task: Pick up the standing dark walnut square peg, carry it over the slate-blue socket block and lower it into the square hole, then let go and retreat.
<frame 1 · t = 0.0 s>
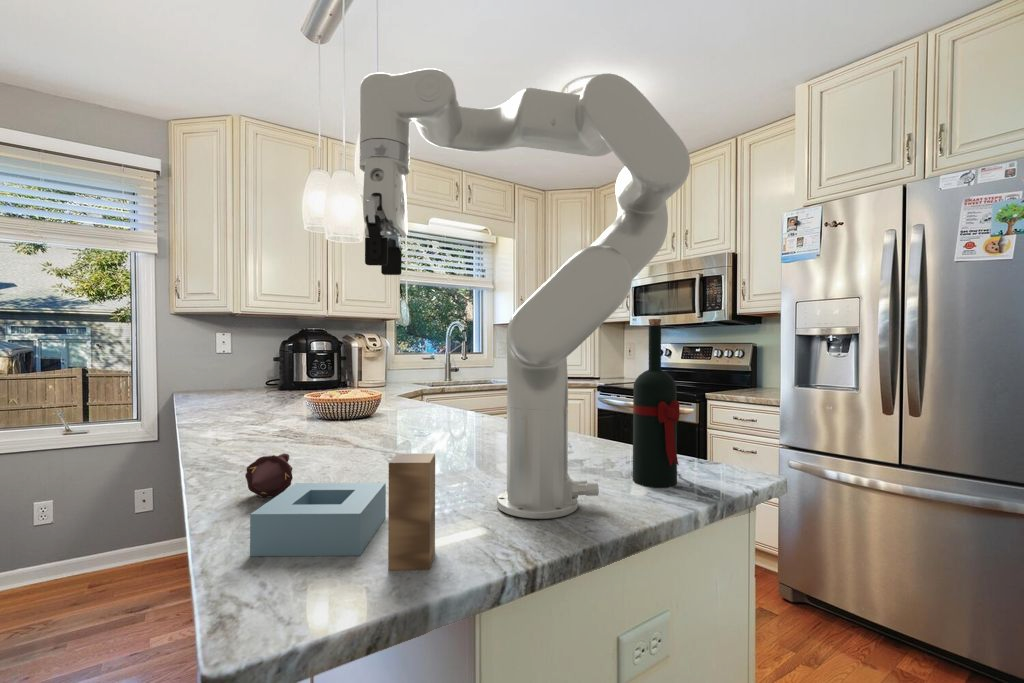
hand: (384, 270, 76), 37 cm above the counter, tool pointing down, fingers open, 9 cm apart
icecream: (270, 496, 81), on the counter
wine bottle: (658, 484, 89), on the counter
walnut peg: (412, 560, 57), on the counter
socket block: (324, 534, 65), on the counter
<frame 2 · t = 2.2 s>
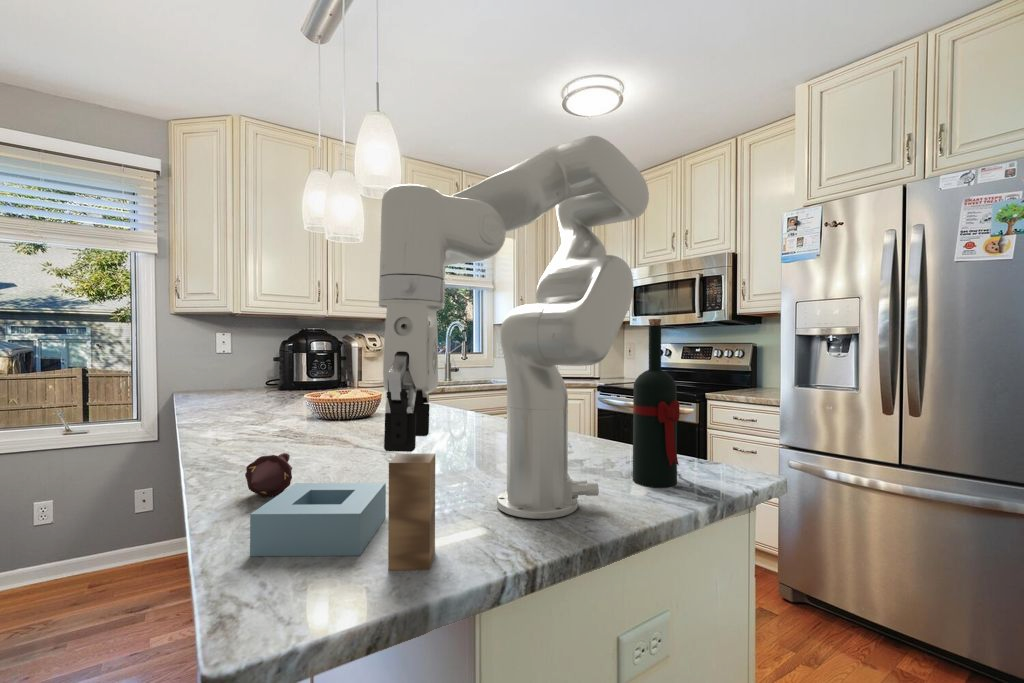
hand: (408, 442, 57), 14 cm above the counter, tool pointing down, fingers open, 9 cm apart
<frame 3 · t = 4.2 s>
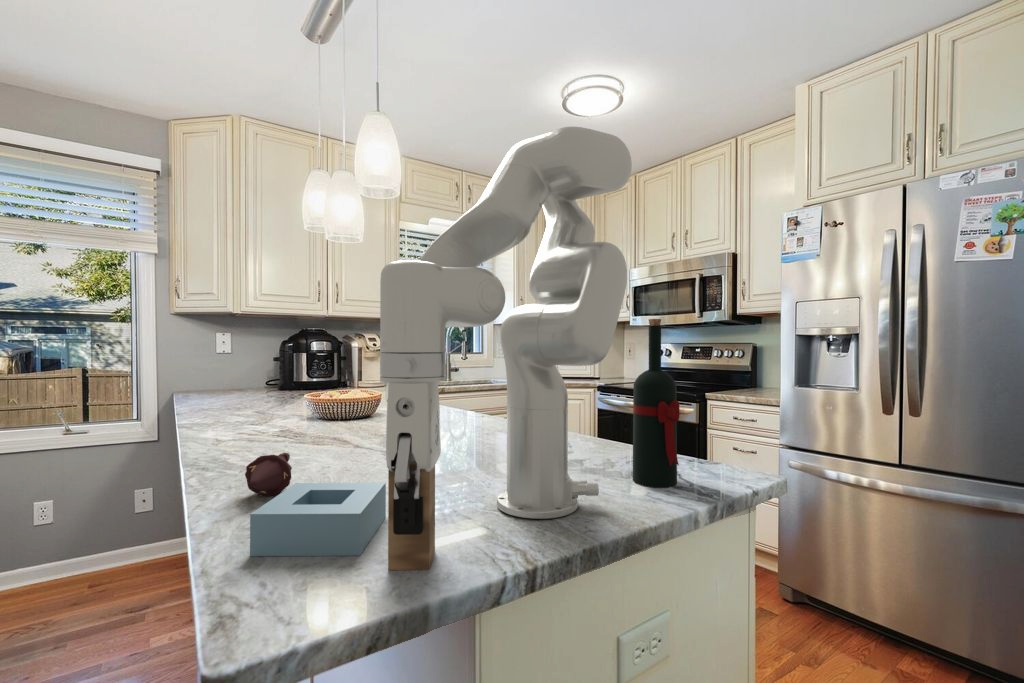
hand: (412, 523, 57), 4 cm above the counter, tool pointing down, fingers closed on walnut peg, 4 cm apart
walnut peg: (412, 560, 57), on the counter, touching gripper
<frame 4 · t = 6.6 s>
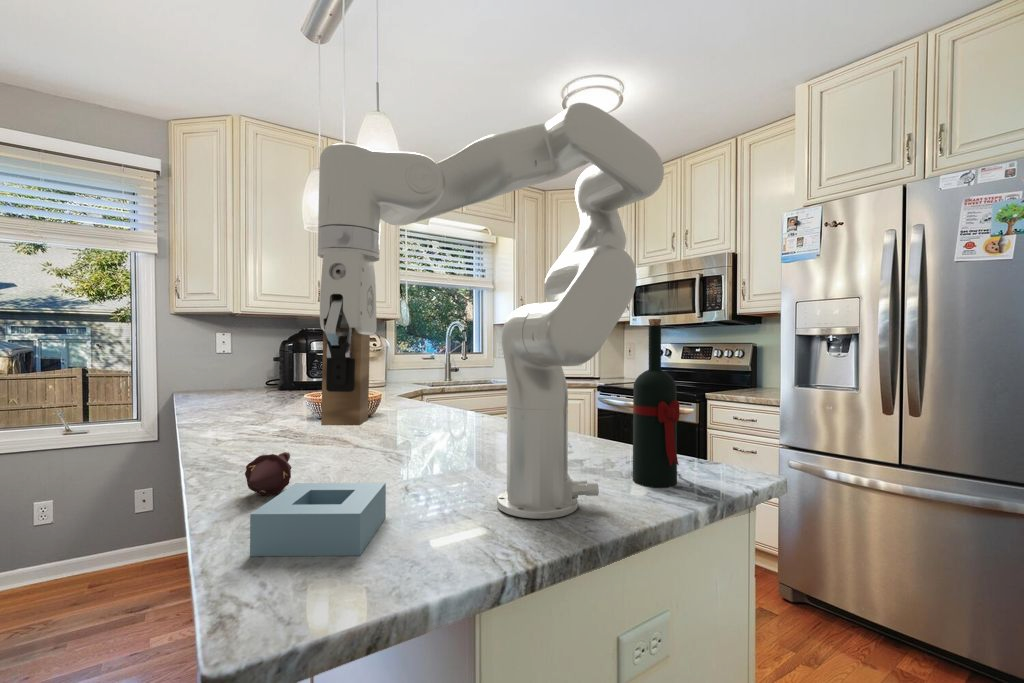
hand: (346, 387, 62), 20 cm above the counter, tool pointing down, fingers closed on walnut peg, 4 cm apart
walnut peg: (345, 422, 62), point 15 cm above the counter, touching gripper
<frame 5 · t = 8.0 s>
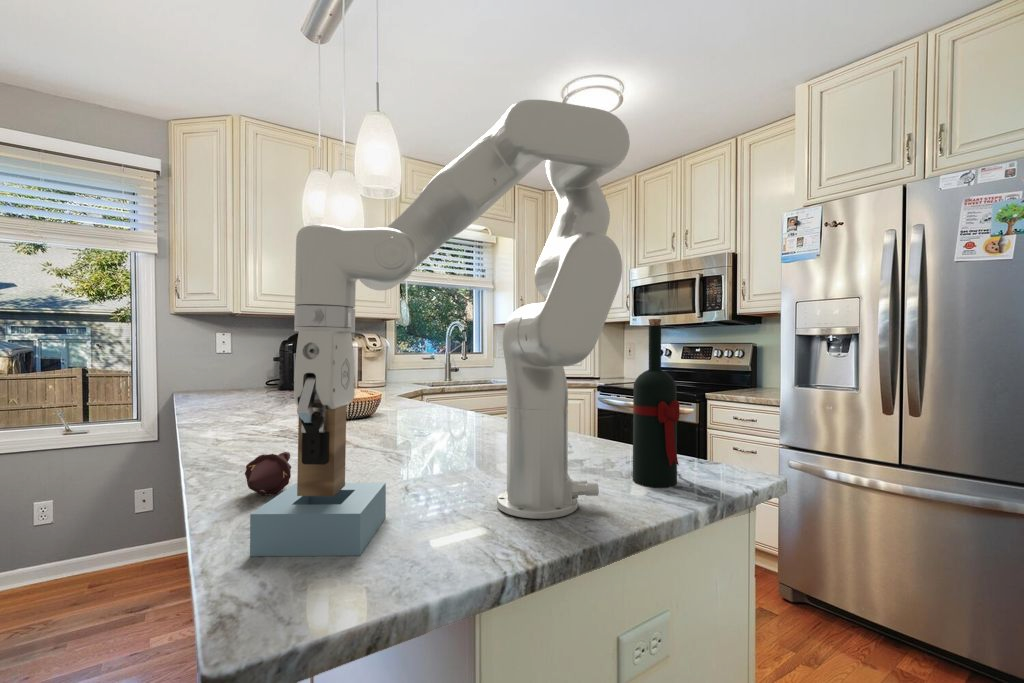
hand: (322, 457, 65), 10 cm above the counter, tool pointing down, fingers closed on walnut peg, 4 cm apart
walnut peg: (321, 490, 65), point 6 cm above the counter, touching gripper
when the fingers open (7 cm above the counter, at t = 9.0 s): walnut peg drops 2 cm, resting in socket block.
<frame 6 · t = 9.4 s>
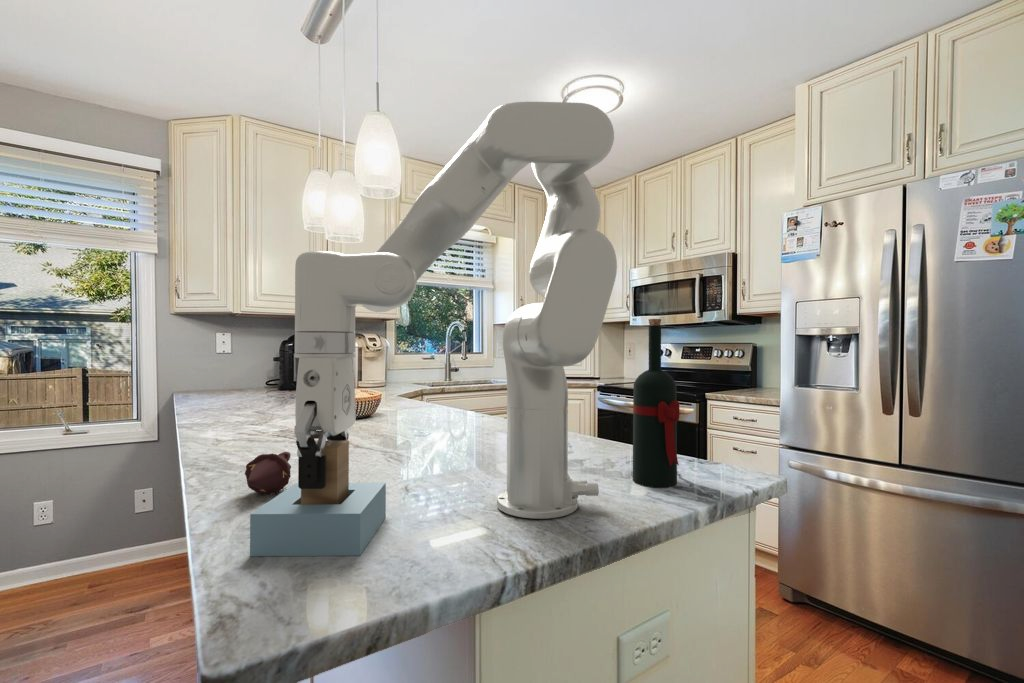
hand: (325, 477, 65), 8 cm above the counter, tool pointing down, fingers open, 8 cm apart
walnut peg: (325, 534, 65), resting in socket block
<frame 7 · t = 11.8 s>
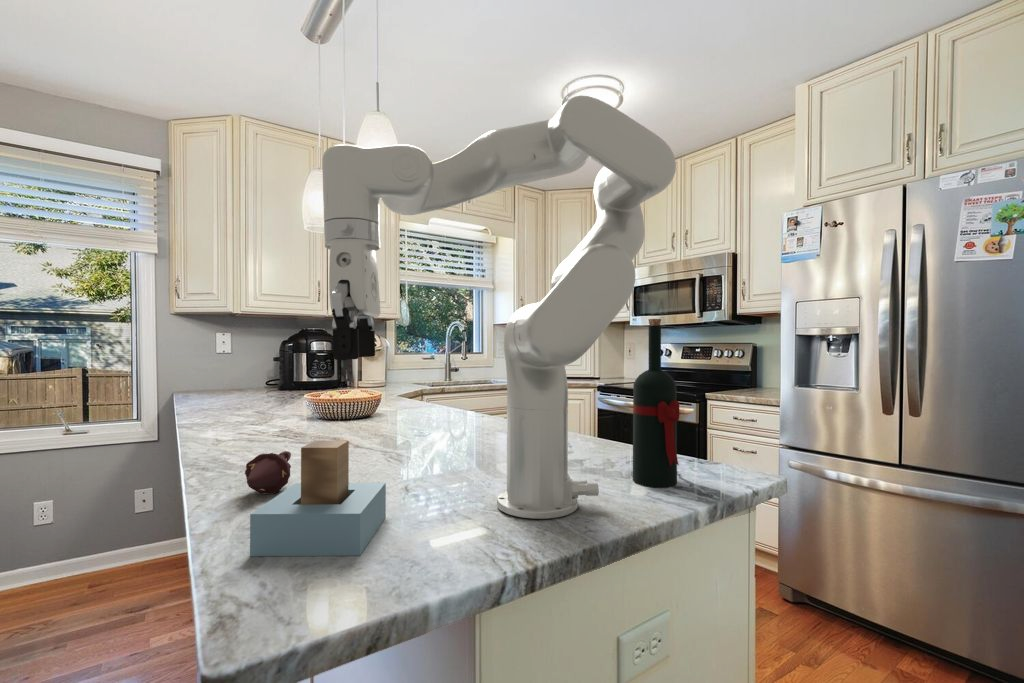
hand: (356, 358, 70), 23 cm above the counter, tool pointing down, fingers open, 9 cm apart
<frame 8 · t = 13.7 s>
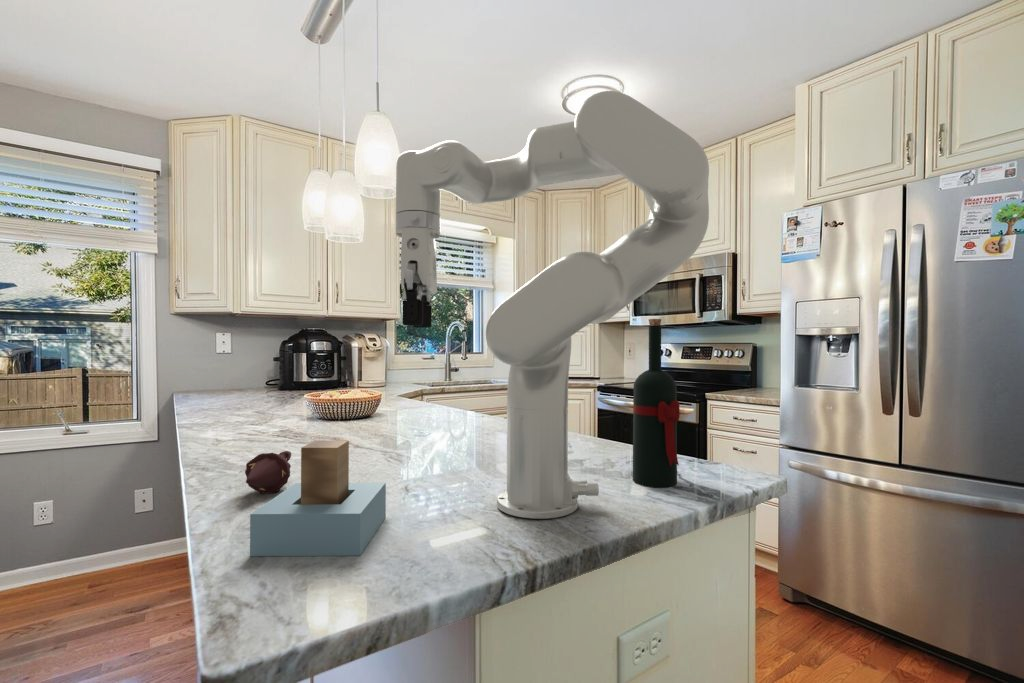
hand: (417, 326, 84), 28 cm above the counter, tool pointing down, fingers open, 9 cm apart
at the end: walnut peg 0.1 cm off-centre on the socket block, point 0.0 cm above the socket block's base; walnut peg tilted 0°; the gripper is holding nothing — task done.
